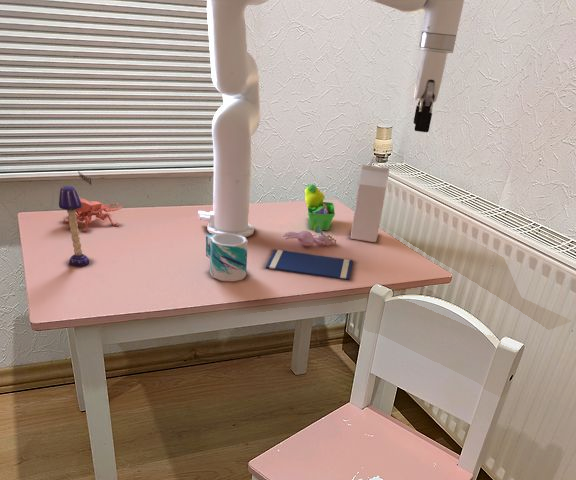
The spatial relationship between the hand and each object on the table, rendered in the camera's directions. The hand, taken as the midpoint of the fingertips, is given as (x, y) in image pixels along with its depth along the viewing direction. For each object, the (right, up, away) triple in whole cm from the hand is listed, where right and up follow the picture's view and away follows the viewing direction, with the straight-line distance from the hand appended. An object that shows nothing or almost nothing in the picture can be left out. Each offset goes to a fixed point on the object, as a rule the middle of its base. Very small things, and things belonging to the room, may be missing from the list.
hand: (420, 127), depth 135 cm
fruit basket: (-23, -14, +32) cm, 41 cm away
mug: (-46, -34, -2) cm, 57 cm away
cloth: (-26, -31, +6) cm, 41 cm away
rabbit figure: (-26, -24, +17) cm, 39 cm away
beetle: (-82, -17, +17) cm, 86 cm away
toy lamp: (-79, -33, -5) cm, 85 cm away
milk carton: (-10, -19, +26) cm, 34 cm away
